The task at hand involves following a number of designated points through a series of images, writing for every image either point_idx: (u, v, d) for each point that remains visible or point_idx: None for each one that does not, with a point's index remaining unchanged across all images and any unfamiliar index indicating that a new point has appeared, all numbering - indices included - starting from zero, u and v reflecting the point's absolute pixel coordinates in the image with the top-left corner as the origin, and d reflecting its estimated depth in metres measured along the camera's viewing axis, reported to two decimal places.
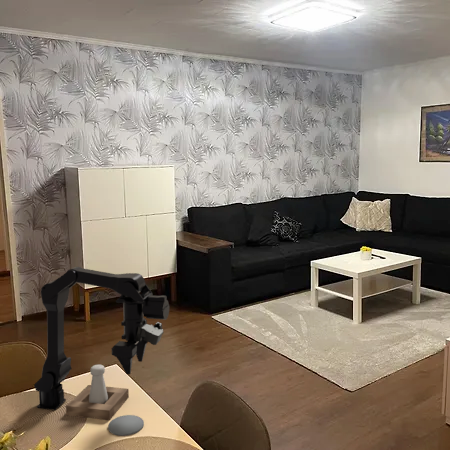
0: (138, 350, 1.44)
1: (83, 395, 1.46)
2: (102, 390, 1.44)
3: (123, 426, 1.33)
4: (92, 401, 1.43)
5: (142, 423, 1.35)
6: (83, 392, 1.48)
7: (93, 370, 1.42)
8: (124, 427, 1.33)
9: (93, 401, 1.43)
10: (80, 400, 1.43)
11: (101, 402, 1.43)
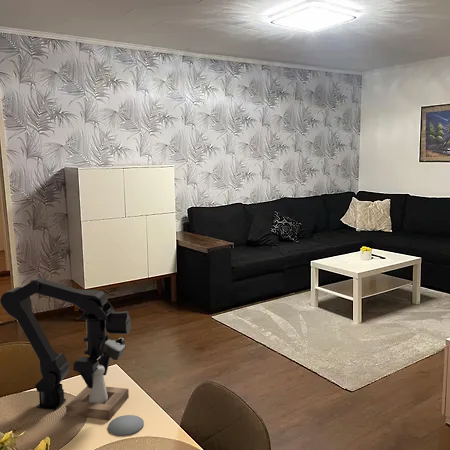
0: (102, 364, 1.49)
1: (83, 395, 1.46)
2: (102, 390, 1.44)
3: (123, 426, 1.33)
4: (92, 401, 1.43)
5: (142, 423, 1.35)
6: (83, 392, 1.48)
7: None
8: (124, 427, 1.33)
9: (93, 401, 1.43)
10: (80, 400, 1.43)
11: (101, 402, 1.43)
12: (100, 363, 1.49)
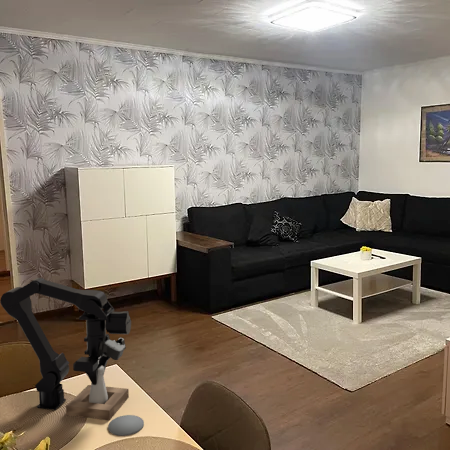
0: None
1: (83, 395, 1.46)
2: (102, 390, 1.44)
3: (123, 426, 1.33)
4: (92, 401, 1.43)
5: (142, 423, 1.35)
6: (83, 392, 1.48)
7: None
8: (124, 427, 1.33)
9: (93, 401, 1.43)
10: (80, 400, 1.43)
11: (101, 402, 1.43)
12: None
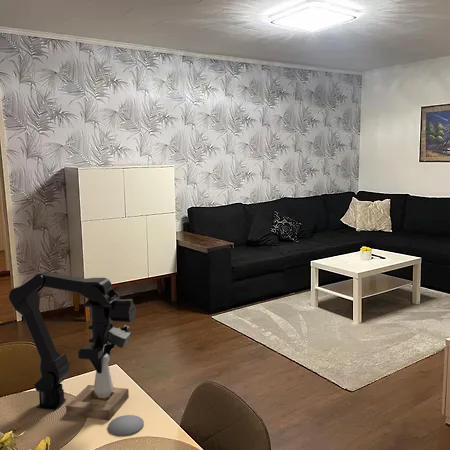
0: None
1: (83, 395, 1.46)
2: (107, 379, 1.41)
3: (123, 426, 1.33)
4: (97, 390, 1.40)
5: (142, 423, 1.35)
6: (83, 392, 1.48)
7: None
8: (124, 427, 1.33)
9: (98, 390, 1.40)
10: (80, 400, 1.43)
11: (106, 391, 1.40)
12: None
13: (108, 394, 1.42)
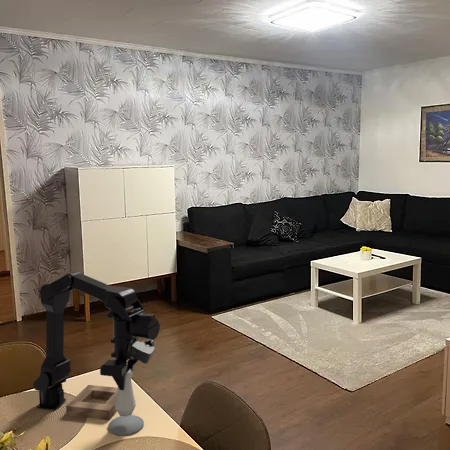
0: None
1: (83, 395, 1.46)
2: (130, 396, 1.32)
3: (123, 426, 1.33)
4: (119, 408, 1.31)
5: (142, 423, 1.35)
6: (83, 392, 1.48)
7: None
8: (124, 427, 1.33)
9: (120, 407, 1.31)
10: (80, 400, 1.43)
11: (129, 409, 1.31)
12: None
13: (130, 412, 1.32)
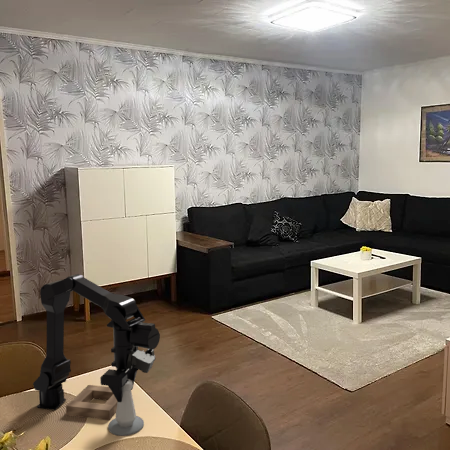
0: (128, 378, 1.37)
1: (83, 395, 1.46)
2: (130, 407, 1.32)
3: None
4: (119, 419, 1.31)
5: (142, 423, 1.35)
6: (83, 392, 1.48)
7: None
8: (124, 427, 1.33)
9: (120, 418, 1.31)
10: (80, 400, 1.43)
11: (129, 420, 1.32)
12: None
13: (131, 423, 1.33)
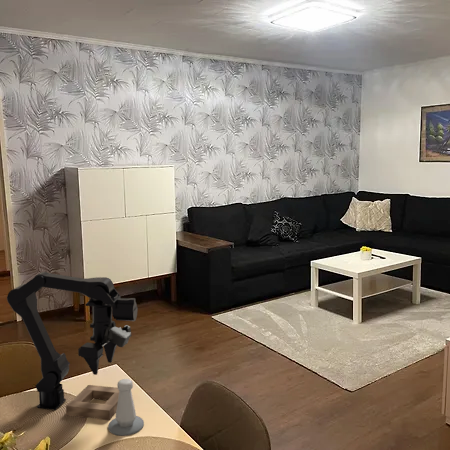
0: (108, 351, 1.49)
1: (83, 395, 1.46)
2: (130, 407, 1.32)
3: None
4: (119, 419, 1.31)
5: (142, 423, 1.35)
6: (83, 392, 1.48)
7: (121, 386, 1.31)
8: (124, 427, 1.33)
9: (120, 418, 1.31)
10: (80, 400, 1.43)
11: (129, 420, 1.32)
12: (106, 350, 1.49)
13: (131, 423, 1.33)
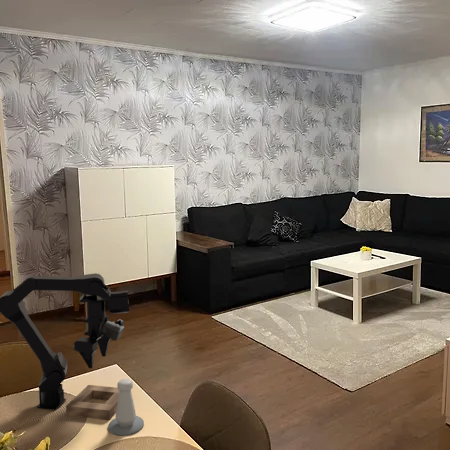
0: (102, 346, 1.53)
1: (83, 395, 1.46)
2: (130, 407, 1.32)
3: None
4: (119, 419, 1.31)
5: (142, 423, 1.35)
6: (83, 392, 1.48)
7: (120, 386, 1.31)
8: (124, 427, 1.33)
9: (120, 418, 1.31)
10: (80, 400, 1.43)
11: (129, 420, 1.32)
12: (100, 345, 1.53)
13: (131, 423, 1.33)
